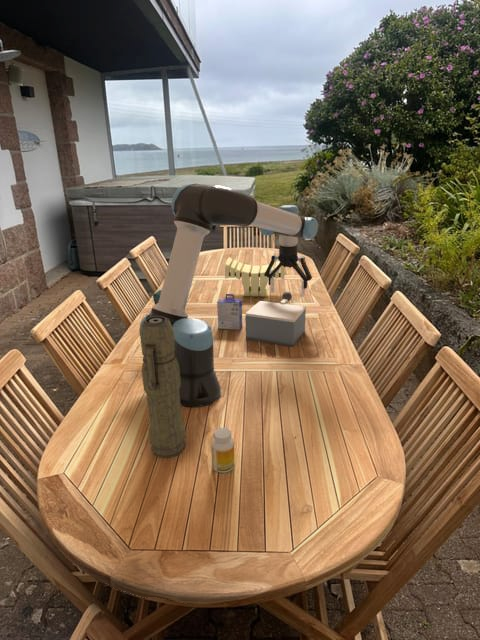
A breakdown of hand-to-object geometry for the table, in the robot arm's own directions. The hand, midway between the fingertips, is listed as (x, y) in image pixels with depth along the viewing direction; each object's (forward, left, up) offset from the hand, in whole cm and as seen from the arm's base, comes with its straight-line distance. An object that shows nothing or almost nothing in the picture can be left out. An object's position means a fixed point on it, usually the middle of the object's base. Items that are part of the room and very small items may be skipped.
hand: (287, 294), depth 179 cm
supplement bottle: (-92, -14, -14) cm, 94 cm away
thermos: (-91, +2, -14) cm, 92 cm away
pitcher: (-39, +34, -14) cm, 54 cm away
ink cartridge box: (-13, +21, -14) cm, 28 cm away
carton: (-14, 0, -13) cm, 20 cm away
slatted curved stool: (+34, +28, -14) cm, 46 cm away
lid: (-10, 0, -3) cm, 11 cm away
